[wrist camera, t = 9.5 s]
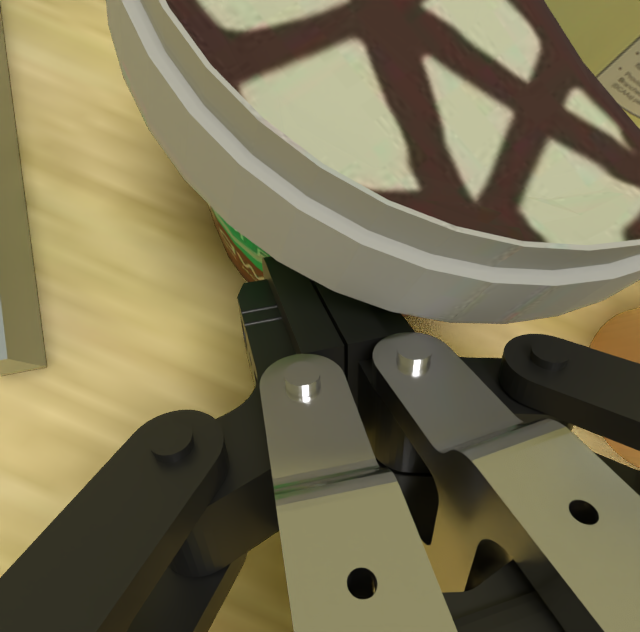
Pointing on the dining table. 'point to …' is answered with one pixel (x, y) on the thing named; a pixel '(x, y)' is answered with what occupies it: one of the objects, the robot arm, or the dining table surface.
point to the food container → (396, 147)
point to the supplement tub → (606, 44)
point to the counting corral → (15, 249)
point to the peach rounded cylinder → (625, 342)
